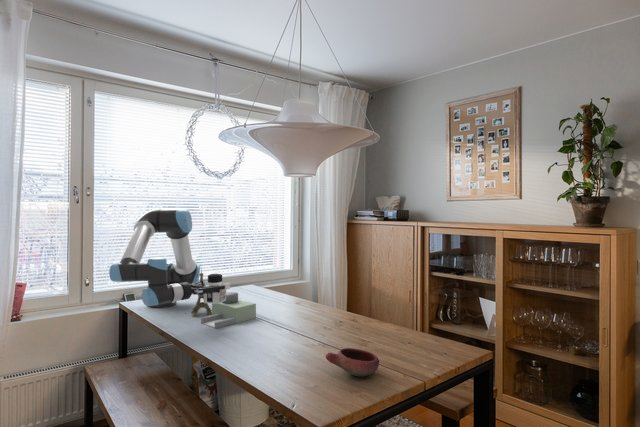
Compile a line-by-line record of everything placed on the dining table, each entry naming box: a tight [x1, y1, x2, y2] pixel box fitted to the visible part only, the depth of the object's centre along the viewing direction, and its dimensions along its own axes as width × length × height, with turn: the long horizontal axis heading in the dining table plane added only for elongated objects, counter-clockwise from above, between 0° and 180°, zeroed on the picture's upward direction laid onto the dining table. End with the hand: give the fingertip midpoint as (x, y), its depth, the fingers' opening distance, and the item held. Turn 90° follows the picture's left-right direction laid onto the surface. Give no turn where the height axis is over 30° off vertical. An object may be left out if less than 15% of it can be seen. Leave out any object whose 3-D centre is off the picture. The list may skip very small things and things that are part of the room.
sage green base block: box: [200, 291, 257, 329], centre depth 201 cm, size 20×23×11 cm
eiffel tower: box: [190, 266, 212, 318], centre depth 212 cm, size 11×11×25 cm
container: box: [203, 273, 227, 305], centre depth 193 cm, size 8×8×13 cm
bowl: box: [325, 347, 380, 378], centre depth 133 cm, size 16×13×8 cm
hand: (222, 284), depth 196 cm, fingers closed on container, 10 cm apart
